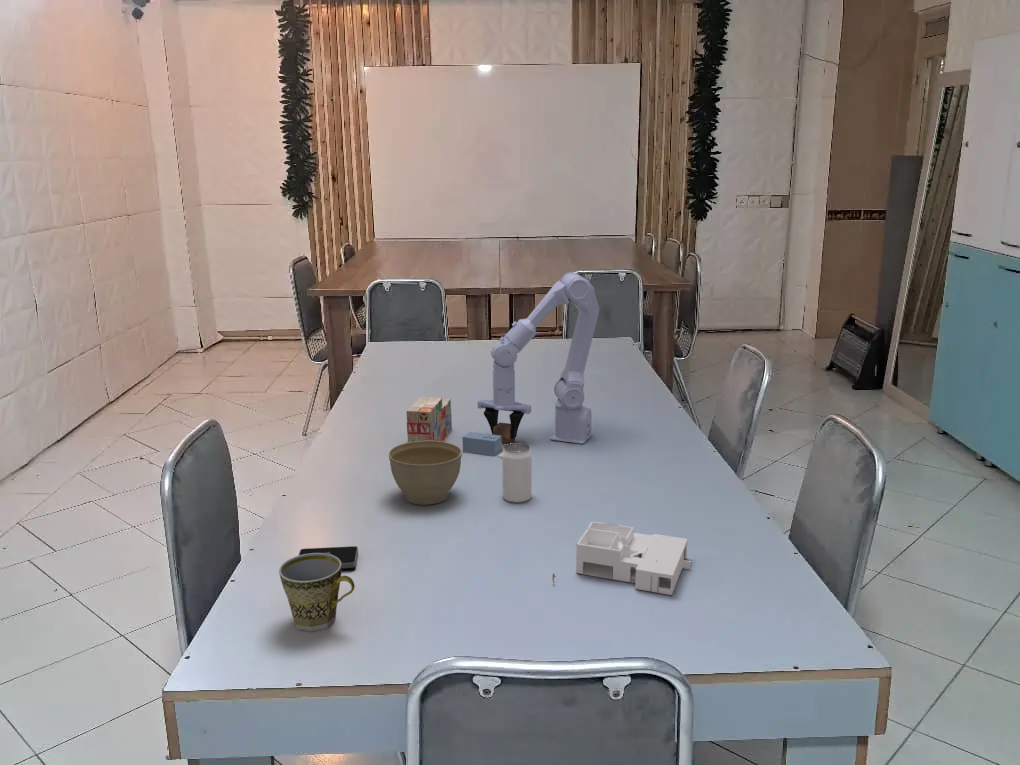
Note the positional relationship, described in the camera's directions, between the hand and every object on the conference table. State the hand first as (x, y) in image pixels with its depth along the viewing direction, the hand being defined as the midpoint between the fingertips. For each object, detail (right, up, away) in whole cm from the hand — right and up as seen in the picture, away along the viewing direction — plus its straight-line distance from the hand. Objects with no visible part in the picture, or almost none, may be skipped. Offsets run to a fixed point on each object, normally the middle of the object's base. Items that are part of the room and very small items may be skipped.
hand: (504, 436), depth 226 cm
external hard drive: (-33, -20, -66) cm, 76 cm away
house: (+26, -21, -69) cm, 77 cm away
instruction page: (+2, -4, -9) cm, 10 cm away
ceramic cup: (-30, -26, -86) cm, 94 cm away
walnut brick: (0, -1, 0) cm, 2 cm away
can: (+3, -12, -36) cm, 38 cm away
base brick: (-6, -3, -7) cm, 9 cm away
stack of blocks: (-20, -2, 0) cm, 20 cm away
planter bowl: (-17, -12, -35) cm, 41 cm away
